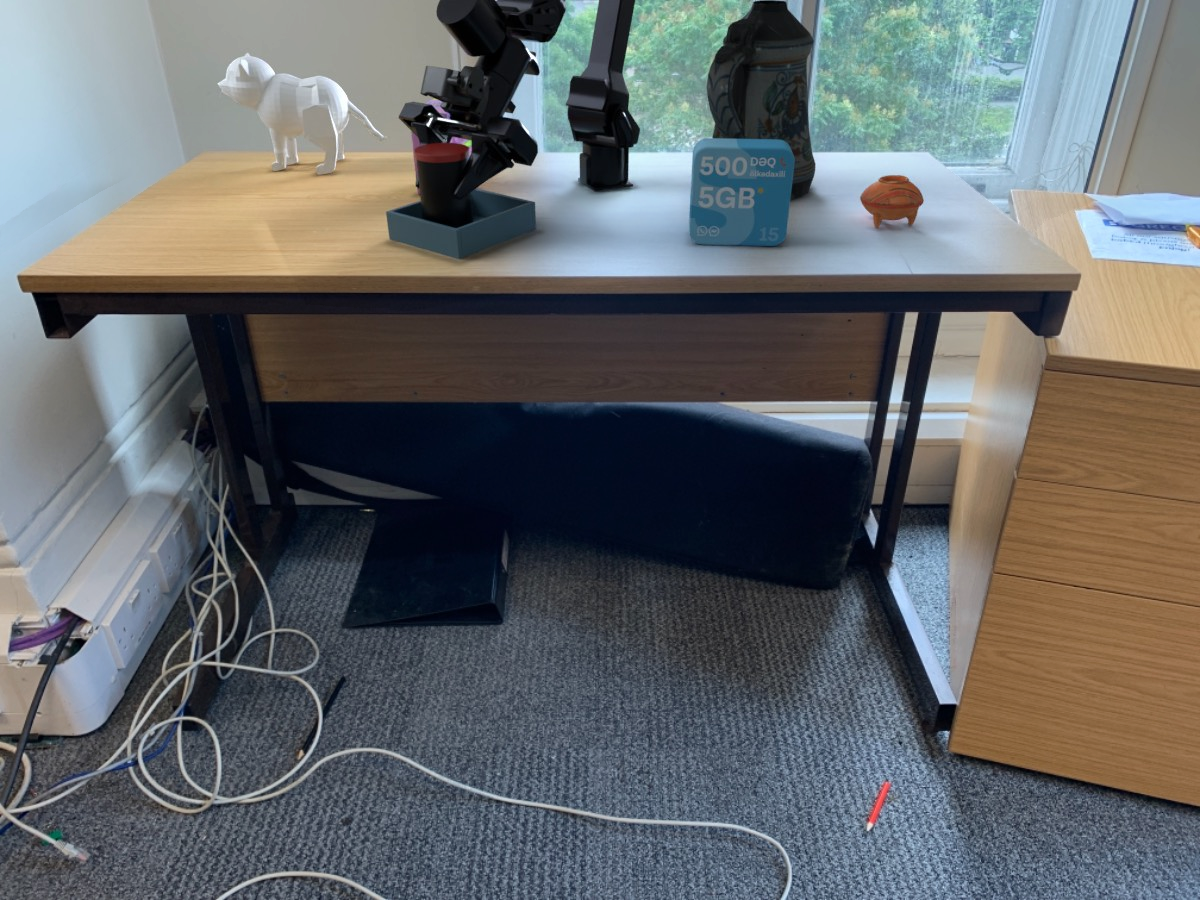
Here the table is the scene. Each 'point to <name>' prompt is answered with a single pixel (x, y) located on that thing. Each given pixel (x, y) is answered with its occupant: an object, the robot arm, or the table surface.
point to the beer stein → (765, 84)
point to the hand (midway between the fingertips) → (437, 192)
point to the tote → (491, 225)
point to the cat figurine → (294, 109)
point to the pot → (892, 199)
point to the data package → (740, 191)
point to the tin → (443, 183)
